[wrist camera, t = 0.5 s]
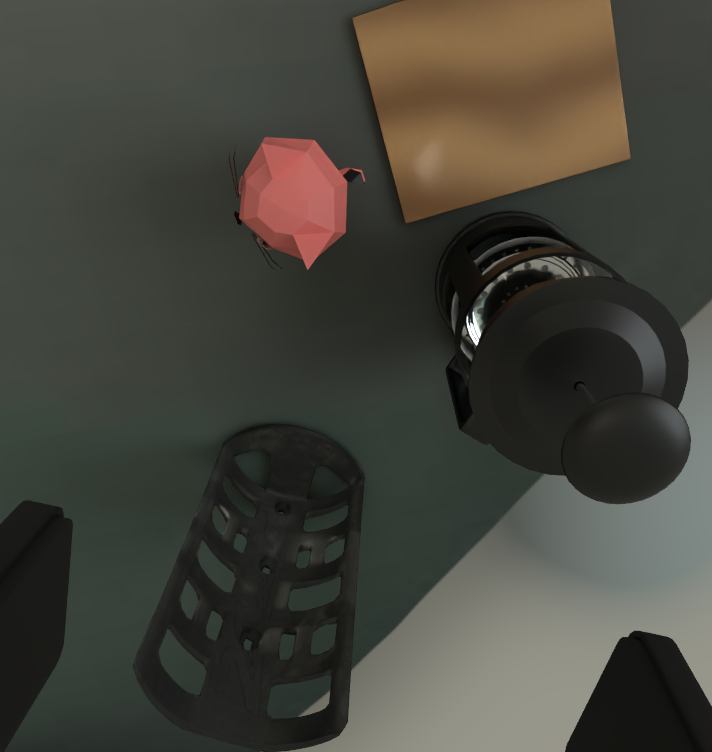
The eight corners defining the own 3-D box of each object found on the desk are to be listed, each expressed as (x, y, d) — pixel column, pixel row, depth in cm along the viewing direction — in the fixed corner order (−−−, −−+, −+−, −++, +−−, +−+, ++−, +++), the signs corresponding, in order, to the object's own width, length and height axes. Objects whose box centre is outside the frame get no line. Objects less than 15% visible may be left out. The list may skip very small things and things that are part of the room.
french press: (496, 172, 39) (625, 239, 18) (615, 251, 41) (864, 399, 20) (394, 325, 44) (402, 527, 22) (506, 393, 45) (614, 642, 24)
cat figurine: (241, 145, 40) (185, 156, 28) (345, 106, 38) (329, 103, 27) (282, 253, 42) (245, 302, 31) (381, 219, 41) (380, 259, 30)
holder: (375, 434, 46) (356, 677, 29) (362, 514, 50) (339, 774, 32) (224, 414, 46) (114, 644, 29) (223, 495, 50) (124, 744, 32)
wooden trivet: (352, 19, 37) (351, 17, 36) (598, -65, 35) (601, -68, 34) (405, 222, 41) (405, 224, 40) (627, 158, 39) (630, 158, 38)
